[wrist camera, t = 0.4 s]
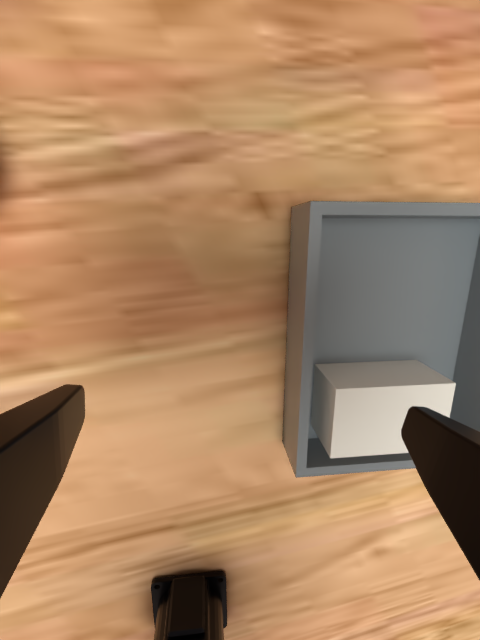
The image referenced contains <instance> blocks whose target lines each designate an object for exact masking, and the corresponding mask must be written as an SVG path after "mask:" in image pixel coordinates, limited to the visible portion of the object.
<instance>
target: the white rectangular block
mask: <svg viewBox="0 0 480 640" xmlns="http://www.w3.org/2000/svg"><path fill="white" fill-rule="evenodd" d="M455 386H456V383H455V382H453V381H451V380H450V379H448V378H446V377H445V376H443V375H441V374H440V373H438V372H436V371H435V370H433V369H431V368H429V367H428V366H426V365H424V364H423V363H421V362H419V361H418V360H402V361H378V362H354V363H330V364H315V369H314V384H313V400H312V415H311V425H312V427H313V429H314V430H315V432H316V434H317V436H318V437H319V439H320V441H321V443H322V445H323V446H324V448H325V450H326V452H327V454H328V455H329V457H330V458H343V457H357V456H371V455H384V454H398V453H409V452H408V450H407V448H406V446H405V444H404V442H403V439H402V436H401V429H402V426H403V423H404V420H405V417H406V415H407V412H408V409H409V408H410V407H412V406H420V407H427V408H429V409H431V410H434V411H436V412H438V413H440V414H442V415H444V416H447V417H449V418H450V412H451V407H452V402H453V397H454V391H455Z"/></svg>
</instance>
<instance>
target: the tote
mask: <svg viewBox="0 0 480 640" xmlns="http://www.w3.org/2000/svg"><path fill="white" fill-rule="evenodd" d="M402 360H418V361H419V362H421V363H423V364H424V365H426V366H428V367H429V368H431V369H433V370H435V371H436V372H438V373H440V374H441V375H443V376H445V377H446V378H448V379H450V380H451V381H453V382H455V383H456V386H455V391H454V397H453V402H452V407H451V412H450V418H451V419H453V420H455V421H457V422H460V423H462V424H464V425H466V426H468V427H470V428H473V429H475V430H477V431H479V432H480V203H427V202H338V201H310V202H307V203H303V204H300V205H297V206H294V207H292V212H291V238H290V263H289V288H288V314H287V339H286V364H285V390H284V415H283V440H282V442H283V444H284V447H285V450H286V452H287V455H288V458H289V460H290V463H291V466H292V468H293V471H294V474H295V476H296V477H308V476H321V475H334V474H347V473H359V472H372V471H385V470H398V469H411V468H416V467H415V465H414V463H413V461H412V458H411V456H410V454H409V453H398V454H384V455H371V456H357V457H343V458H330V457H329V455H328V454H327V452H326V450H325V448H324V446H323V445H322V443H321V441H320V439H319V437H318V436H317V434H316V432H315V430H314V429H313V427H312V425H311V415H312V400H313V384H314V369H315V364H330V363H354V362H378V361H402Z"/></svg>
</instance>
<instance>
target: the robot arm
mask: <svg viewBox="0 0 480 640" xmlns="http://www.w3.org/2000/svg"><path fill="white" fill-rule="evenodd" d="M84 418H85V393H84V388H83V386H81V385H70V384H66V385H63V386H61V387H59V388H57V389H54V390H52V391H50V392H48V393H46V394H44V395H41V396H39V397H37V398H35V399H33V400H30V401H28V402H26V403H24V404H22V405H19V406H17V407H15V408H13V409H11V410H9V411H6V412H4V413H2V414H0V598H1V596H2V594H3V592H4V590H5V588H6V586H7V584H8V583H9V581H10V579H11V577H12V575H13V573H14V571H15V569H16V567H17V565H18V563H19V561H20V559H21V557H22V555H23V553H24V552H25V550H26V548H27V546H28V544H29V542H30V540H31V538H32V536H33V534H34V532H35V530H36V528H37V526H38V524H39V522H40V521H41V519H42V517H43V515H44V513H45V511H46V509H47V507H48V505H49V503H50V501H51V499H52V497H53V495H54V493H55V491H56V490H57V488H58V485H59V483H60V481H61V479H62V477H63V474H64V472H65V470H66V467H67V464H68V462H69V459H70V457H71V454H72V451H73V449H74V446H75V443H76V441H77V438H78V436H79V433H80V430H81V428H82V425H83V422H84ZM401 436H402V439H403V442H404V444H405V446H406V448H407V450H408V452H409V454H410V456H411V458H412V461H413V463H414V465H415V467H416V469H417V471H418V473H419V475H420V477H421V479H422V481H423V483H424V485H425V487H426V489H427V491H428V493H429V495H430V496H431V498H432V500H433V502H434V503H435V505H436V507H437V508H438V510H439V512H440V514H441V515H442V517H443V519H444V520H445V522H446V524H447V526H448V527H449V529H450V531H451V532H452V534H453V536H454V537H455V539H456V541H457V543H458V544H459V546H460V548H461V549H462V551H463V553H464V555H465V556H466V558H467V560H468V561H469V563H470V565H471V566H472V568H473V570H474V572H475V573H476V575H477V577H478V578H479V580H480V432H479V431H477V430H475V429H473V428H470V427H468V426H466V425H464V424H462V423H460V422H457V421H455V420H453V419H451V418H449V417H447V416H444V415H442V414H440V413H438V412H436V411H434V410H431V409H429V408H427V407H420V406H412V407H410V408H409V409H408V412H407V415H406V417H405V420H404V423H403V426H402V429H401ZM151 592H152V603H153V613H154V624H155V634H154V640H224V633H223V628H225V627H226V626H227V600H226V573H225V572H223V571H217V572H208V573H198V574H189V575H179V576H170V577H161V578H155V579H153V581H152V585H151Z"/></svg>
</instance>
